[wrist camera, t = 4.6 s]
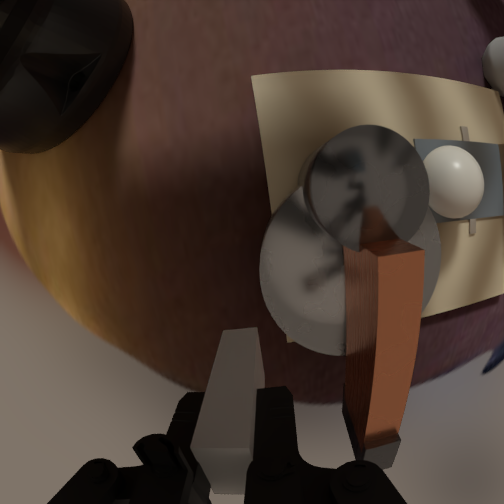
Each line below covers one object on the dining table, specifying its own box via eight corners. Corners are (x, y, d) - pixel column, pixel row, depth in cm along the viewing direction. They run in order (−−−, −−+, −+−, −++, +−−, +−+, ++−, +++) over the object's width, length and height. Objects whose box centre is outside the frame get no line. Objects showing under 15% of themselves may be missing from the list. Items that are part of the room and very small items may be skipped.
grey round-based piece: (278, 401, 18) (281, 487, 11) (243, 151, 14) (224, 121, 7) (411, 375, 17) (453, 443, 10) (415, 140, 14) (499, 121, 7)
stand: (286, 333, 18) (290, 370, 14) (252, 82, 15) (248, 54, 11) (500, 286, 17) (530, 304, 13) (489, 94, 14) (522, 84, 9)
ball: (409, 216, 15) (447, 226, 11) (403, 148, 14) (439, 140, 10) (458, 211, 15) (498, 220, 11) (453, 149, 14) (493, 144, 10)
